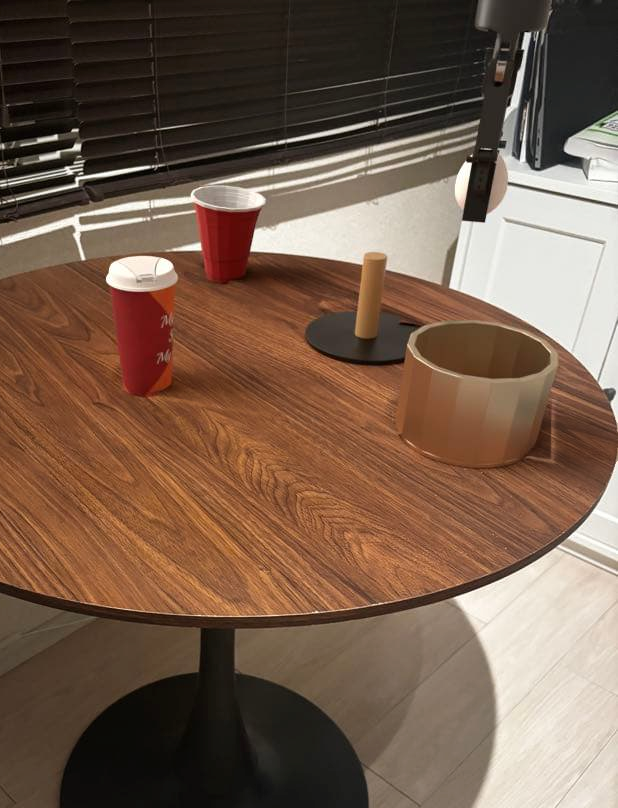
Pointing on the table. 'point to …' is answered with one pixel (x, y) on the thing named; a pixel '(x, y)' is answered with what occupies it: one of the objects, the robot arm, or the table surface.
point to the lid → (363, 324)
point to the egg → (497, 187)
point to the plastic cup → (226, 228)
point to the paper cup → (144, 321)
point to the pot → (474, 392)
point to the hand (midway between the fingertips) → (475, 212)
